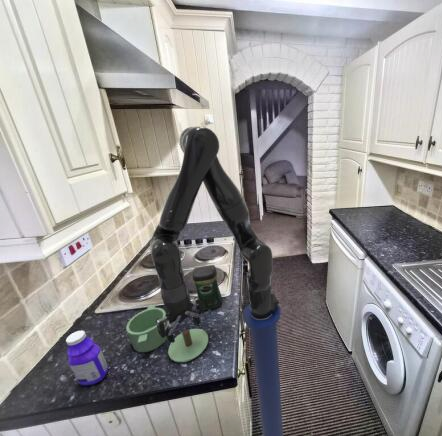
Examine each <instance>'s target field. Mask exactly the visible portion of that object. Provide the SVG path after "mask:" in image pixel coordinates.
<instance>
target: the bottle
mask: <svg viewBox="0 0 442 436" xmlns="http://www.w3.org/2000/svg"><path fill="white" fill-rule="evenodd" d="M65 342H66V345H67V347H68V349H67V356H69V357H68V360H67V362H68V365H69V367H70V369H71V371H72V373H73V375H74V376H75V378H76V381H77V382H78V384H79V385H82V386H91V385H95V384H98V383H99V382H102V381H103V380H104V379H105V377H106V376H107V374H108V372H109V365H108V362H107V361H106V358H105V356H104V353H103V351H102V349H101V347H100V345H98V344H97V343H94V339H92V338H91V337H88V335H87V334H86V331H85V330H77V331H74V332H73V333H70V334H69V335H68V336H67V337H66V339H65Z"/></svg>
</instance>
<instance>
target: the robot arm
mask: <svg viewBox="0 0 442 436" xmlns="http://www.w3.org/2000/svg"><path fill="white" fill-rule="evenodd" d="M179 147H180V149H181V151H182V153H183V158H182V163H181V167H180V171H179V174H178V175H177V178H176V179H175V180H176V181H175V182H174V184H173V186H172V188H171V189H170V191H169V193H168V195H167V196H166V200H165V202H164V206H163V208H162V212H161V214H160V218H159V222H158V224H157V225H156V227H155V229H154V231H153V233H152V236H151V239H150V242H149V249H150V256H151V259H152V263H153V266H154V269H155V271H156V275H157V280H158V284H159V288H160V294H161V295H160V297H161V299H162V302H163V306H164V309H165V310H164V311H165V313H166V316H165V317H163V318H162V319H160V318H157V319H156V324H157V329H158V333H159V335H160V336H161V337H162V338H164V337H165V336H167V341H168V342H169V343H170V344H171V343H173V342H175V340H174V339H175V337H174V330H175V329H176V328H177V326H178V324H180V323H181V322H183V321H184V320H187V319H188V318H189V316H190V317H192V322H193V324H194V325H195V326H196V327H199V326H200V323H201V320H200V315H201V314H203V313H204V312H205V310H203V306H202V302H201V300H200V299H199V298H198V296H195V297H194V298H193V300H191V299H192V298H191V296H190V291H189V286H188V283H187V280H186V277H185V272H184V269H183V268H184V267H183V266H182V265H183V264H182V256H181V250H180V246H179V244H178V240H179V236H180V235H181V232H183V231H184V230H185V229H186V227H187V225H188V222H189V219H190V216H191V213H192V211H193V207H194V205H195V202H196V199H197V196H198V194H199V191H200V189H201V186H202V185H203V184H204V187H205V190H206V191H207V194H208V196H209V198H210V200H211V201H212V203H213V205H214V207H215V210H216V211H217V213H218V214H219V216H220V218H221V219H222V221H223V223H224V224H225V225H226V227H227V228H228V230H229V231H230V232H231V234H232V235H233V237H234V240H235V241H236V244H237V246H238V249H239V251H240V254H241V256H242V257H243V259H244V260H245V261H246V262H247V263H248V264H249V270H248V271H247V274H246V281H247V289H248V299H249V304H250V309H251V316H252V318H253V319H255V320H258V321H263V320H267V319H269V318H270V317H271V316H272V315H274V314H275V311H274V308H277V307H278V305H279V303H280V302H279V299H277V297H276V295H275V293H273V290H272V273H273V252H272V248H271V247H270V246H269V245H268V244H266V243H265V242H263V241H262V240H261V239H260V237H258V235H257V233H255V230H254V228H253V227H252V225H251V218H250V211H249V208H248V206H247V203H246V201H245V199H244V197H243V195H242V193H241V191H240V189H239V188H238V186H237V185H236V184H235V183H234V181H233V179H232V178H230V176H229V175H228V174H227V172H226V171H225V170H224V168H223V165H222V164H221V162H220V159H219V157H218V153H219V151H220V140H219V138H218V136H217V134H216V133H215V132H214V131H213V130H212V129H210V128H208V127H205V126H190V127H187V128H185V129H184V130H182V132H181V134H180V136H179ZM194 306H195V307H196V310H193V307H194ZM167 320H168V322H167V327H166V329H165V328H164V326H165V323H166V321H167Z"/></svg>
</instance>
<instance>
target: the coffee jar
mask: <svg viewBox="0 0 442 436" xmlns="http://www.w3.org/2000/svg"><path fill="white" fill-rule="evenodd" d="M217 278H218V270H217V267H216V266H215V265H214V264H209V265H204V266H197V267H194V268H193V271H192V282H193V284H194V285H195V288H196V295H197V297H198V298H199V299H200V300H201V302H202V306H203V310H204V311H210V310H214V309H217V308H220V306H221V305H222V303H223V298H222V297H223V296H222V293H221V291H220V287H219V283H218V280H217Z"/></svg>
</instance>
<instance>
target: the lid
mask: <svg viewBox="0 0 442 436" xmlns="http://www.w3.org/2000/svg"><path fill="white" fill-rule="evenodd" d="M174 340H175V342H173V343H172V342H171V343H170V345H169V346H168V349H167V351H168V353H167V354H168V357H169V359H170V360H172V361H173V362H175V363H186V362H190V361H193V360H195V359H196V358H197V357H199V356H200V355H202V354H203V352H205V350H206V348H207V347H208V345H209V334H208V333H207V332H206V331H205V330H204V329H201V328H190V329H184V330H183V331H182V332H181V333H180V334H178V335H177V336H175V337H174Z"/></svg>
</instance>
